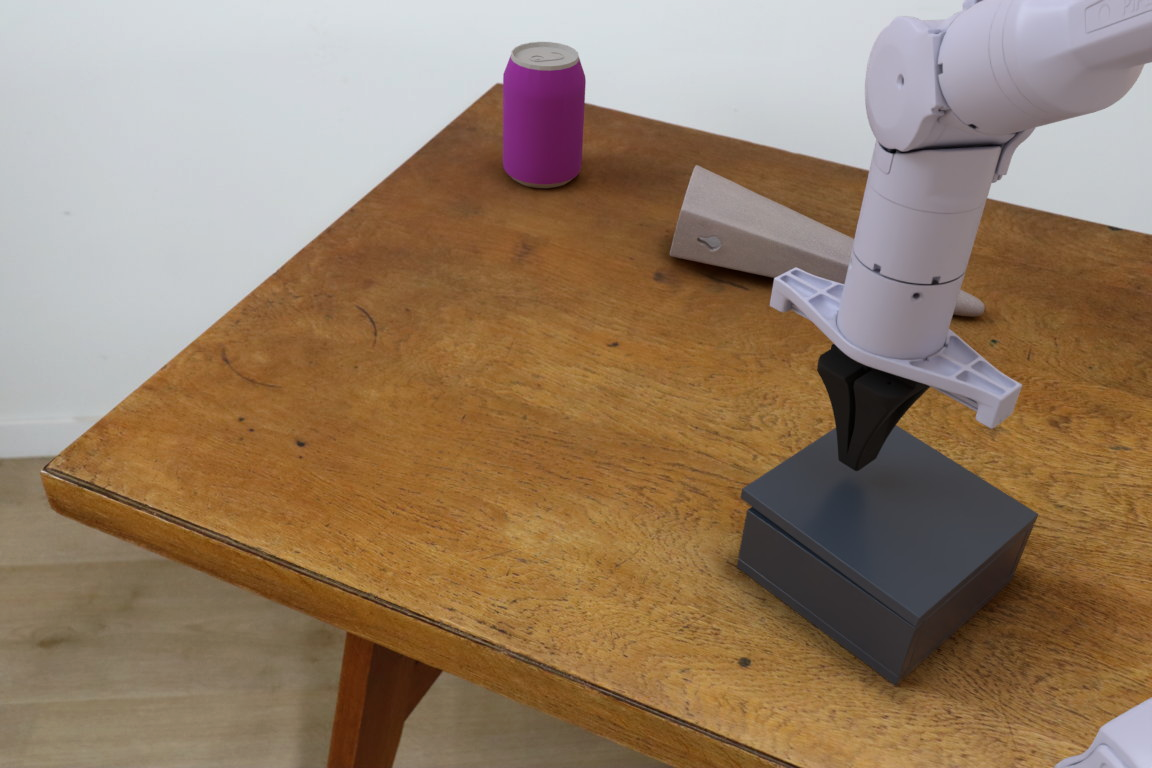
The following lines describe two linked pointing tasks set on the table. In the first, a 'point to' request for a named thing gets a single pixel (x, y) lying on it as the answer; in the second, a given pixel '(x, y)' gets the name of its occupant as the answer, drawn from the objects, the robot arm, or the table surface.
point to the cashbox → (863, 598)
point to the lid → (892, 518)
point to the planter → (763, 236)
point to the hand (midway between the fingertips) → (857, 458)
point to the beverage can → (543, 114)
